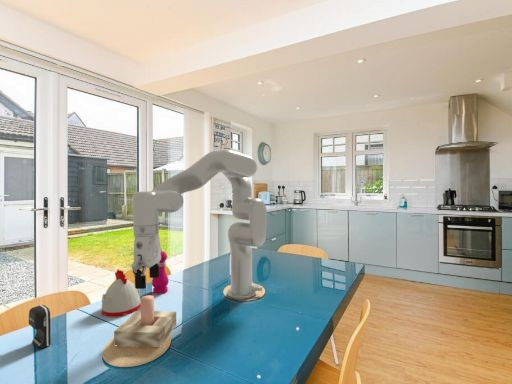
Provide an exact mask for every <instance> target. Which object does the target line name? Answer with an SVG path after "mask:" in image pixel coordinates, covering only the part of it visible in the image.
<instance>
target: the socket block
mask: <svg viewBox="0 0 512 384" xmlns="http://www.w3.org/2000/svg"><path fill="white" fill-rule="evenodd" d="M176 326H177V311H169V310H168V311H166V310H165V311H160V310H154V324H153V325H152V326H146V325H141V310H137V311H135V312H133V313H132V315H130V316H129V317H128V318H127V319H126V320H125V321H123V323H121V324H120V325H119V326H118V327H117V328H115V330H114V331H113V346H114V345H117V346H116V347H126V346H135V347H134V348H150V347H160V346H161V347H162V346H163V344H164V343H165V341H166V340H167V338H168V337H169V336H170V335H171V333H172V332H173V330H174V329H175V328H176ZM165 339H166V340H165ZM136 346H138V347H136ZM161 347H160V348H161Z"/></svg>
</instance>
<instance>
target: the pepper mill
mask: <svg viewBox="0 0 512 384" xmlns="http://www.w3.org/2000/svg"><path fill="white" fill-rule="evenodd" d="M160 248H161V260H160V261H159V265H158V266H159V277H158V278H151V279H152V280H151V285H152V287H153V289H152V294H154V295H163V294H166V293H168V291H169V289H168V284H169V277H168V276H169V275H167V273H166V265H167V264H166V262H167V261H166V260H167V258H168V255H167V252H165V251H163V249H162V247H160Z"/></svg>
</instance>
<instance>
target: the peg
mask: <svg viewBox="0 0 512 384" xmlns="http://www.w3.org/2000/svg"><path fill="white" fill-rule="evenodd" d="M140 301H141V307H140V311H141V325H146V326H152V325H153V324H154V311H155V296H154V295H143V296H142V297H140Z"/></svg>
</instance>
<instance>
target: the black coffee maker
mask: <svg viewBox="0 0 512 384" xmlns="http://www.w3.org/2000/svg"><path fill="white" fill-rule="evenodd" d="M28 311H29V312H28V324H29V326H30V327H32V328H33V329H34V330H36V331H35V334H34V335H35V336H34V337H33V339H32V341H31V343H32V345H33V346H34V347H35V348H37V349H44V348H46V346H47V347H49V346H51V345H52V342H51V340H52V339H51V311H50V308H49V307H47V306H46V305H44V304H39V305H36V306H33V307H32V308H30V309H29V310H28Z"/></svg>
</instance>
